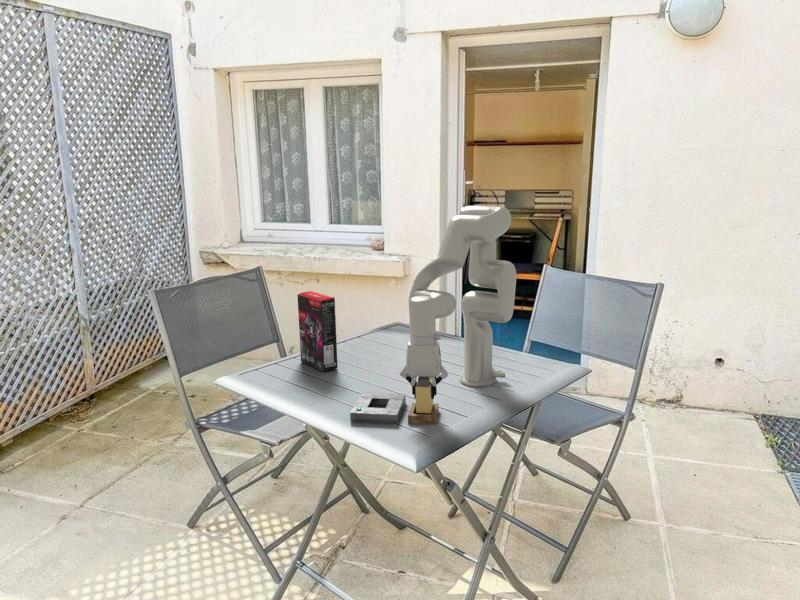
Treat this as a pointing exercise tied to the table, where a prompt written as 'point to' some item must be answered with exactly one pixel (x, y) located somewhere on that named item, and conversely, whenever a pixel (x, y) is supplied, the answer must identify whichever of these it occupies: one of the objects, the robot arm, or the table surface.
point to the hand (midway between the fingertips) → (424, 396)
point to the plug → (423, 395)
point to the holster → (423, 415)
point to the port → (385, 414)
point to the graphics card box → (317, 330)
